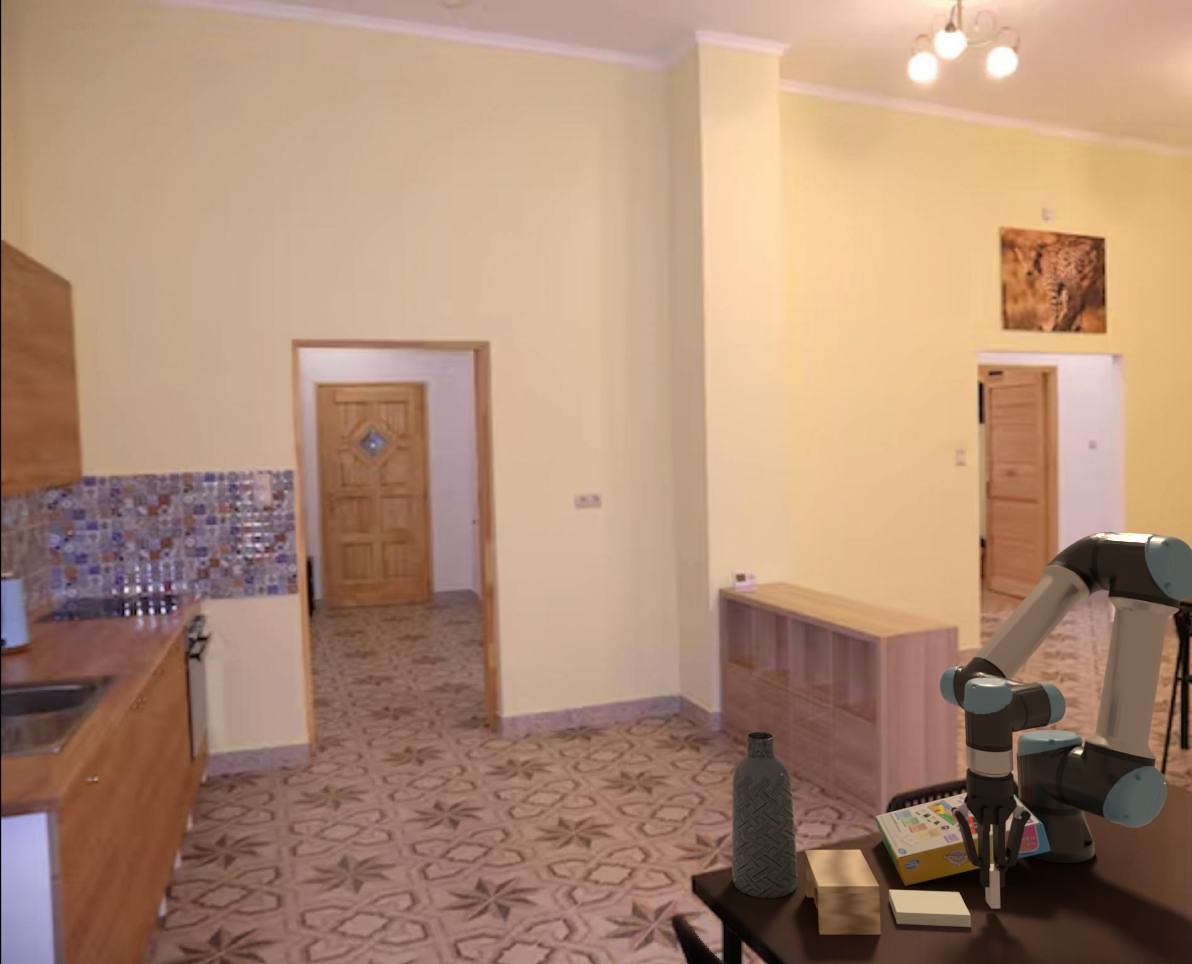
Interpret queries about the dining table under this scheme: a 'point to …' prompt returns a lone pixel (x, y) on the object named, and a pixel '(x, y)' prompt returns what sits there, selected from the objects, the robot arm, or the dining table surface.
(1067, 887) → the dining table surface
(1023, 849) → the game box
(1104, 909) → the dining table surface
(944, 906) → the thin cream tile
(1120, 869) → the dining table surface
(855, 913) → the overhang
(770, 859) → the vase
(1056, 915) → the dining table surface
